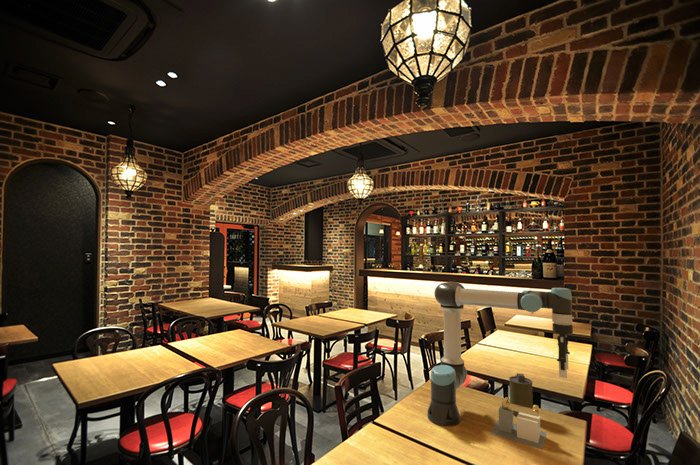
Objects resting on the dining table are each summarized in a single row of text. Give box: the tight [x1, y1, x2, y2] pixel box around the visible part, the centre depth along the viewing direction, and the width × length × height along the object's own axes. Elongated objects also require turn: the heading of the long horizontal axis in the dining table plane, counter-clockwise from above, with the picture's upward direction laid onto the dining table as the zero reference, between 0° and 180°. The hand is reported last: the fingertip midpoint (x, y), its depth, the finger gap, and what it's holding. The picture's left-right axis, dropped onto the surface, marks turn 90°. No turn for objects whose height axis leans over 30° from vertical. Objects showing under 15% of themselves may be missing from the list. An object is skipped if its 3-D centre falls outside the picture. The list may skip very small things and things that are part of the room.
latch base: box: [490, 404, 548, 450], centre depth 146 cm, size 20×16×10 cm
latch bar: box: [501, 396, 540, 417], centre depth 146 cm, size 15×6×4 cm, turn 54°
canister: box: [508, 373, 534, 418], centre depth 164 cm, size 11×10×20 cm
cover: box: [516, 412, 541, 443], centre depth 144 cm, size 8×8×8 cm
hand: (564, 373), depth 144 cm, fingers open, 13 cm apart
